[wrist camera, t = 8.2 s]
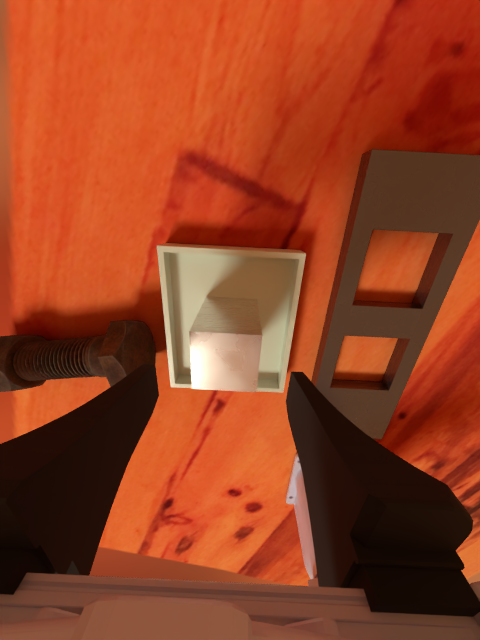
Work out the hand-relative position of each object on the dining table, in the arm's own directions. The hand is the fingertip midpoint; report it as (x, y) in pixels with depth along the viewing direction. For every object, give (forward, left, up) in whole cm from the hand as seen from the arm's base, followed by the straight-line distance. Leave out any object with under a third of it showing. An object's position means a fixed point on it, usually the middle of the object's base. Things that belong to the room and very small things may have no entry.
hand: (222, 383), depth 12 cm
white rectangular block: (0, 0, -7) cm, 7 cm away
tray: (0, 0, -8) cm, 8 cm away
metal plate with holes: (0, -12, -8) cm, 14 cm away
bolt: (-3, +14, -8) cm, 17 cm away
